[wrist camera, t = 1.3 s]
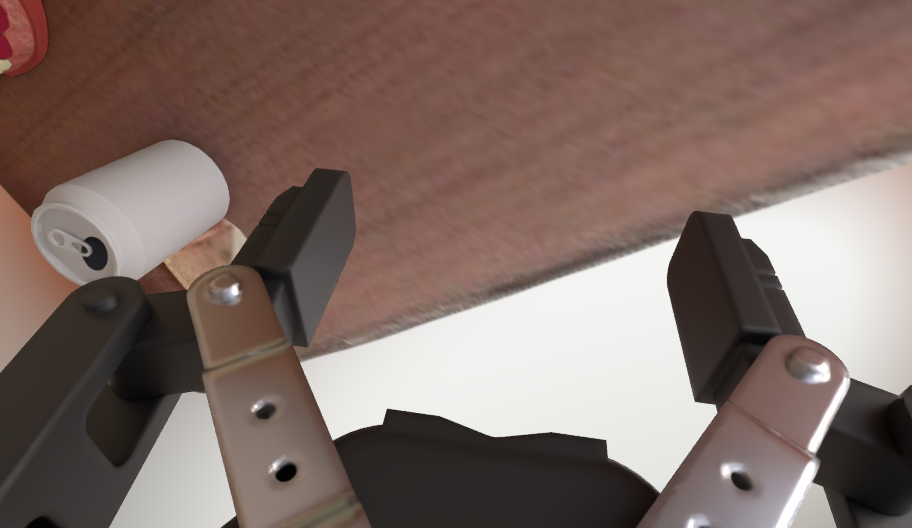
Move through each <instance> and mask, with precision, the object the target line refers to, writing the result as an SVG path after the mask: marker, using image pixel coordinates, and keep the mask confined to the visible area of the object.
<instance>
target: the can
mask: <svg viewBox="0 0 912 528" xmlns="http://www.w3.org/2000/svg"><path fill="white" fill-rule="evenodd" d="M229 201H230V198H229V191H228V186H227V183H226V181H225V179H224V177H223V174H222V172H221V171H220V169H219V168H218V167H217V165H216V164H215V163H214V161H213V160H212V159H211V158H210V157H208V156H207V155H206V154H205V153H204V152H203V151H201V150H200V149H199V148H197V147H195V146H193V145H191V144H189V143H187V142H183V141H178V140H173V139H172V140H166V141H160V142H158V143H156V144H153V145H151V146H149V147H146V148H144V149H142V150H139V151H137V152H135V153H132V154H130V155H128V156H125V157H123V158H121V159H118V160H116V161H114V162H111V163H109V164H107V165H105V166H102V167H100V168H98V169H95V170H93V171H91V172H88V173H86V174H84V175H81V176H79V177H77V178H74V179H72V180H70V181H67V182H65V183H63V184H60V185H58V186H56V187H54V188H53V189H52V190H51V191H49V192H48V193H47V194H46V196H45V199H44V201H43V204H42V205H41V206H40V207H38V208H37V209H36V210H34V213H33V215H32V218H31V231H32V235H33V238H34V241H35V243H36V246H37V247H38V249H39V251H40V252H41V253H42V255H43V257H44V258H45V259H46V260H47V261H48V263H49V264H50V265H51V266H52V267H53V268H54V269H55V270H56V271H58V272H59V273H60V274H62V275H63V276H64V277H66V278H67V279H68V280H70V281H73V282H75V283H77V284H78V285H81V286H83V285H85V284H87V283H89V282H92V281H94V280H97V279H101V278H105V277H111V276H124V277H129V278H132V279H134V280H138V279H139V278H141V277H142V276H144V275H145V274H146V273H148V272H149V271H151V270H152V269H153V268H155V267H156V266H158V265H159V264H160V263H162V262H163V261H165V260H166V259H167V258H169V257H170V256H172V255H173V254H175V253H176V252H177V251H179V250H180V249H182V248H183V247H184V246H186V245H187V244H189V243H190V242H191V241H193V240H194V239H196V238H197V237H198V236H200V235H201V234H203V233H204V232H205V231H207V230H208V229H210V228H211V227H212V226H214V225H215V224H217V223H218V222H219V221H221V220H222V219H223V217H224V216H225V214H226V213H227V211H228V206H229Z"/></svg>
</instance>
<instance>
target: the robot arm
mask: <svg viewBox="0 0 912 528" xmlns="http://www.w3.org/2000/svg"><path fill="white" fill-rule="evenodd" d="M355 229H356V224H355V214H354V205H353V196H352V187H351V179H350V175H349V173H348V172H347V171H339V170H330V169H321V168H316V169H315V170H314V171H313V172H312V174H311V175H310V177H309V179H308V180H307V182H306V183H305V185H304V186H303V187H296V186H293V187H291V188H290V189H288V190H287V191H285V192H284V193H282V194H281V195H279V196H278V197H276V199H275V200H274V201H273V203H272V204H271V206H270V207H269V209H268V210H267V214H265V215H264V216H263V217H262V219H261V220H260V222H259V226H256V228H255V229H254V231H253V232H252V233H251V235H250V236H249V238H248V239H247V241H246V242H245V244H244V245H243V247H242V248H241V249H240V251H239V252H238V254H237V255H236V257H235V258H234V260H233V261H232V263H231V264H230V265H226V266H221V267H217V268H214V269H212V270H209V271H207V272H205V273H204V274H202V275H201V276H199V277H198V278H197V279H196V280H195V281H194V282H193V283H192V284H191V286H190V287H189V289H188V290H183V291H175V292H166V293H157V294H148V295H146V294H145V292H144V290H143V288H142V286H141V285H140V283H139V282H138V281H136V280H134V279H132V278H129V277H124V276H111V277H105V278H101V279H97V280H94V281H92V282H89V283H87V284H85V285H83V286H81V287H79V288H78V289H76V290H75V291H74V292H73V293H71V294H70V295H69V296H68V297H67V298H66V299H65V300H64V301H63V302H62V303H61V305H60V306H59V307H58V308H57V309H56V310H55V311H54V313H53V314H52V315H51V316H50V317H49V318H48V319H47V320H46V322H45V323H44V324H43V325H42V326H41V327H40V328H39V330H38V331H37V332H36V333H35V334H34V335H33V336H32V338H31V339H30V340H29V341H28V342H27V343H26V344H25V345H24V347H23V348H22V349H21V350H20V351H19V352H18V353H17V355H16V356H15V357H14V358H13V359H12V360H11V362H10V363H9V364H8V365H7V366H6V367H5V368H4V369H3V370H2V372H1V373H0V528H109V526H110V525H111V523H112V521H113V519H114V517H115V515H116V514H117V512H118V510H119V508H120V506H121V504H122V503H123V501H124V499H125V497H126V495H127V493H128V491H129V490H130V488H131V486H132V484H133V482H134V480H135V479H136V477H137V475H138V473H139V471H140V470H141V468H142V466H143V464H144V462H145V460H146V458H147V457H148V455H149V453H150V451H151V449H152V448H153V446H154V444H155V442H156V440H157V438H158V437H159V435H160V432H161V431H162V429H163V427H164V425H165V424H166V422H167V420H168V418H169V416H170V415H171V413H172V411H173V409H174V407H175V405H176V404H177V402H178V400H179V398H180V396H181V394H182V393H186V392H193V391H199V390H205V391H206V395H207V399H208V403H209V407H210V411H211V415H212V419H213V423H214V427H215V431H216V435H217V439H218V443H219V447H220V451H221V455H222V459H223V463H224V467H225V471H226V475H227V479H228V483H229V487H230V491H231V495H232V499H233V503H234V507H235V511H236V516H235V517H234V518H233V519H231V520H230V521H229V522H228V523H226V524H225V525H224V526H222V527H221V528H790V526H791V524H792V522H793V520H794V518H795V516H796V514H797V512H798V510H799V508H800V506H801V504H802V502H803V499H804V497H805V495H806V493H807V491H808V489H809V487H810V485H811V483H812V482H813V483H816V484H818V485H820V486H823V487H824V490H825V493H826V496H827V499H828V502H829V505H830V508H831V511H832V514H833V517H834V520H835V523H836V526H837V528H912V385H910V386H909V387H908V388H907V389H906V390H905V391H904V392H903V393H901V394H900V395H899V396H898V395H895V394H893V393H890V392H887V391H884V390H882V389H879V388H876V387H873V386H871V385H868V384H865V383H862V382H860V381H857V380H854V379H852V378H850V376H849V372H848V371H847V369H846V367H845V365H844V364H843V362H842V361H841V360H840V359H839V358H838V357H837V356H836V355H835V354H834V353H833V352H831V351H830V350H829V349H827V348H826V347H824V346H822V345H821V344H819V343H817V342H815V341H813V340H811V339H808V338H806V336H805V334H804V332H803V330H802V328H801V325H800V323H799V322H798V319H797V317H796V315H795V313H794V311H793V309H792V306H791V304H790V302H789V300H788V298H787V296H786V294H785V292H784V290H782V285H781V283H780V281H779V279H778V277H777V276H775V271H774V268H773V266H772V264H771V262H770V260H769V258H768V256H767V255H766V254H765V253H764V252H763V251H762V250H761V249H760V248H759V247H758V246H757V245H756V244H755V243H754V242H753V241H752V240H751V239H743V238H741V236H740V234H739V232H738V229H737V227H736V225H735V223H734V220H733V218H732V217H731V216H730V215H727V214H718V213H709V212H700V211H694V212H693V213H692V214H691V215H690V217H689V218H688V221H687V223H686V225H685V228H684V230H683V232H682V235H681V237H680V239H679V242H678V244H677V246H676V249H675V251H674V253H673V256H672V258H671V260H670V263H669V267H668V273H667V287H668V291H669V296H670V299H671V304H672V308H673V312H674V317H675V321H676V325H677V329H678V333H679V337H680V341H681V346H682V350H683V354H684V358H685V362H686V367H687V371H688V375H689V379H690V384H691V388H692V392H693V396H694V400H695V402H700V403H707V404H715V405H716V408H717V412H718V413H717V415H716V416H715V417H714V419H713V420H712V422H711V423H710V424H709V426H708V427H707V429H706V430H705V432H704V433H703V434H702V436H701V437H700V438H699V440H698V441H697V443H696V444H695V445H694V447H693V448H692V450H691V451H690V453H689V454H688V455H687V457H686V458H685V460H684V461H683V462H682V464H681V465H680V467H679V468H678V469H677V471H676V472H675V474H674V475H673V476H672V478H671V479H670V481H669V482H668V483H667V485H666V486H665V488H664V489H663V491H662V492H661V493H659V492H658V491H657V490H656V489H655V488H654V487H653V486H652V485H651V484H650V483H648V482H647V481H646V480H645V479H644V478H642V477H641V476H640V475H638V474H637V473H635V472H634V471H632V470H631V469H629V468H628V467H626V466H623V465H622V464H620V463H618V462H616V461H614V460H612V459H609V458H608V456H607V444H606V440H601V439H595V438H588V437H580V436H574V435H566V434H560V433H552V432H549V433H538V434H528V435H518V436H507V437H491V436H488V435H485V434H483V433H480V432H478V431H475V430H473V429H470V428H468V427H465V426H463V425H460V424H458V423H455V422H453V421H450V420H448V419H445V418H443V417H440V416H435V415H427V414H420V413H414V412H407V411H400V410H392V409H387V411H386V414H385V418H384V422H383V425H376V426H371V427H366V428H362V429H359V430H356V431H353V432H350V433H348V434H345V435H343V436H341V437H339V438H337V439H335V440H334V441H333V440H332V438H331V435H330V433H329V431H328V429H327V426H326V424H325V421H324V419H323V417H322V414H321V412H320V409H319V407H318V405H317V402H316V400H315V397H314V395H313V393H312V390H311V388H310V386H309V383H308V381H307V379H306V376H305V374H304V371H303V369H302V367H301V364H300V362H299V359H298V357H297V355H296V352H295V350H294V348H293V345H294V346H301V347H308V346H309V344H310V342H311V340H312V337H313V335H314V333H315V331H316V328H317V326H318V324H319V321H320V319H321V317H322V315H323V312H324V310H325V308H326V306H327V303H328V301H329V299H330V297H331V294H332V292H333V290H334V288H335V285H336V283H337V281H338V278H339V276H340V274H341V272H342V269H343V267H344V265H345V263H346V260H347V258H348V256H349V254H350V251H351V249H352V247H353V243H354V238H355Z"/></svg>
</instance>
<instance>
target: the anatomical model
mask: <svg viewBox="0 0 912 528" xmlns="http://www.w3.org/2000/svg"><path fill="white" fill-rule="evenodd" d="M47 47H48V31H47V19H46V15H45V11H44V8H43V4H42V0H0V74H1V73H2V74H4V75H6V76H8V77H9V76H14V75H19V74H23V73H26V72H28V71H30V70H32V69H33V68H34V67H35V66H36V65H38V64H39V63H41V62H42V61H43V59H44V57H45V54H46V52H47Z"/></svg>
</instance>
